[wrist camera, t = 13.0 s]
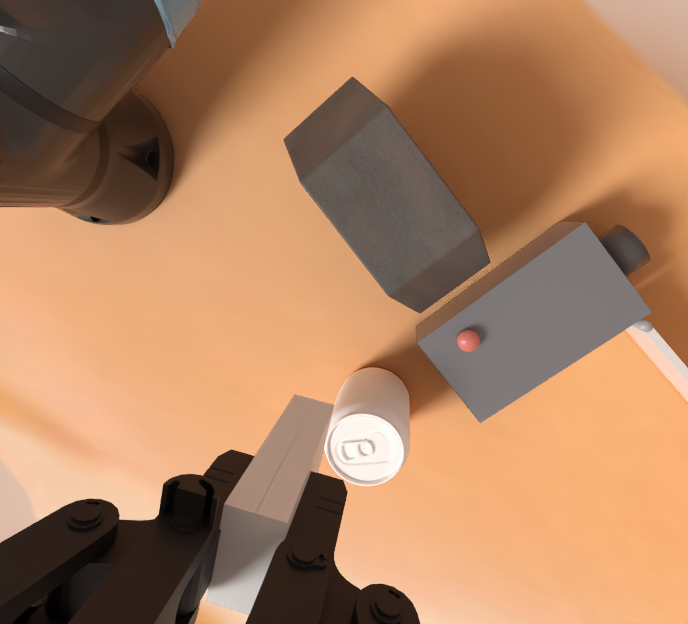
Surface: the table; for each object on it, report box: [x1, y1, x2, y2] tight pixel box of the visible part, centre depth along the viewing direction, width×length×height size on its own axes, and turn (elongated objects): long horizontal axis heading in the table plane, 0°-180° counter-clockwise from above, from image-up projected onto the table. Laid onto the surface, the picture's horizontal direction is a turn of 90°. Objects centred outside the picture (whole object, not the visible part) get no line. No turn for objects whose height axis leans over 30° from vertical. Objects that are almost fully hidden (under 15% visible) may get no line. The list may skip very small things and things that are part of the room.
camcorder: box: [416, 221, 652, 423], centre depth 44 cm, size 21×10×8 cm, turn 129°
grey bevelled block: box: [284, 77, 490, 313], centre depth 40 cm, size 17×8×21 cm
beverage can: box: [324, 368, 410, 486], centre depth 47 cm, size 8×8×12 cm
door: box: [626, 319, 688, 402], centre depth 44 cm, size 14×2×7 cm, turn 43°
